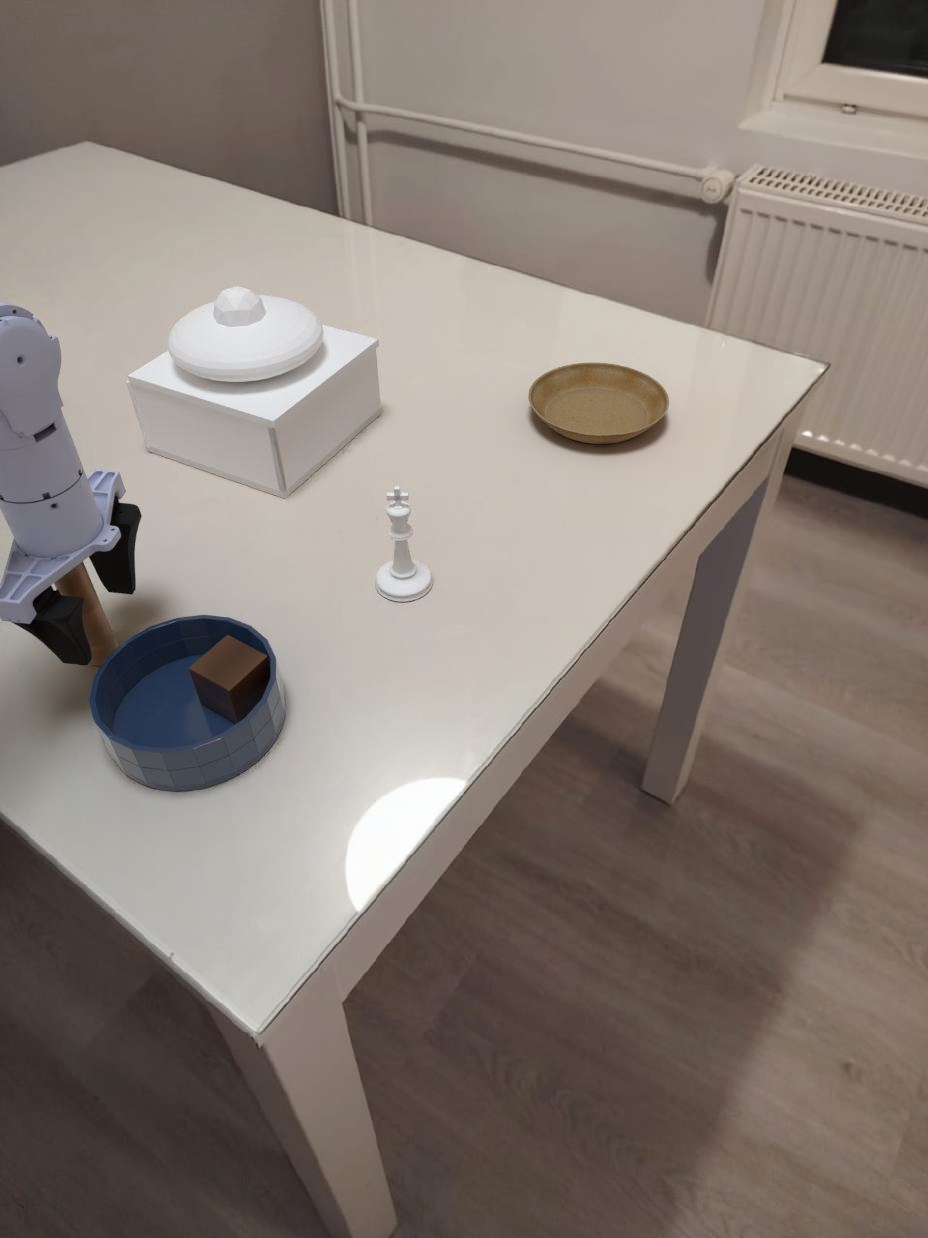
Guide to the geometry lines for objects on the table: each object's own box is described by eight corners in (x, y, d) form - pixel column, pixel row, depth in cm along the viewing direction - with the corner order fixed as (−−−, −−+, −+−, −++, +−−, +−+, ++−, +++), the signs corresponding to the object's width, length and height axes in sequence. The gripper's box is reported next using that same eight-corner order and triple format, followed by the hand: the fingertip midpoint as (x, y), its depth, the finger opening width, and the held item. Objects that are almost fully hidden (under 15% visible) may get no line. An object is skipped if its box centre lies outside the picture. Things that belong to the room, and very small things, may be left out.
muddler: (93, 670, 68) (44, 564, 60) (85, 651, 69) (37, 545, 62) (123, 658, 69) (79, 552, 61) (115, 640, 70) (71, 534, 62)
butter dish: (253, 376, 100) (226, 235, 89) (385, 414, 94) (373, 269, 83) (147, 452, 89) (100, 302, 78) (288, 501, 83) (259, 346, 72)
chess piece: (431, 602, 73) (426, 507, 66) (373, 601, 73) (362, 506, 66) (434, 563, 76) (429, 469, 69) (378, 563, 77) (368, 469, 70)
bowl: (77, 779, 61) (55, 739, 57) (152, 647, 70) (137, 607, 66) (252, 802, 59) (240, 763, 56) (306, 665, 68) (298, 624, 65)
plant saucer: (581, 472, 86) (583, 449, 84) (501, 405, 95) (501, 384, 93) (694, 429, 91) (698, 408, 90) (608, 370, 101) (611, 349, 99)
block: (200, 704, 64) (187, 668, 62) (237, 670, 67) (227, 634, 64) (239, 726, 63) (228, 690, 60) (276, 691, 65) (267, 655, 62)
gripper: (38, 554, 51) (107, 702, 61) (141, 422, 61) (186, 567, 71) (-71, 543, 52) (14, 691, 62) (49, 415, 62) (105, 559, 72)
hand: (100, 624), depth 66 cm, fingers open, 7 cm apart
